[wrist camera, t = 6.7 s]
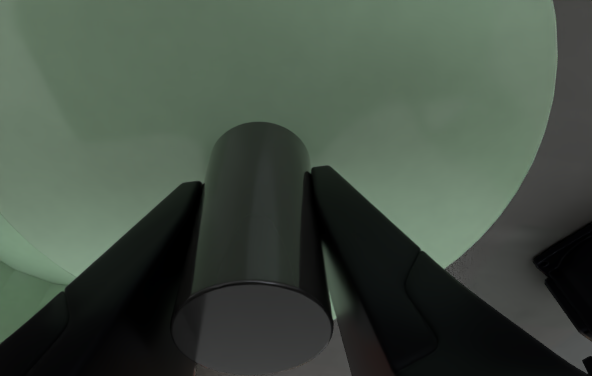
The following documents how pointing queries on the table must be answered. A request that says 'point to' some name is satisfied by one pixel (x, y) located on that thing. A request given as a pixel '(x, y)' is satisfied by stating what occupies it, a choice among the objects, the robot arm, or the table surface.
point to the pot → (24, 280)
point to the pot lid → (266, 140)
